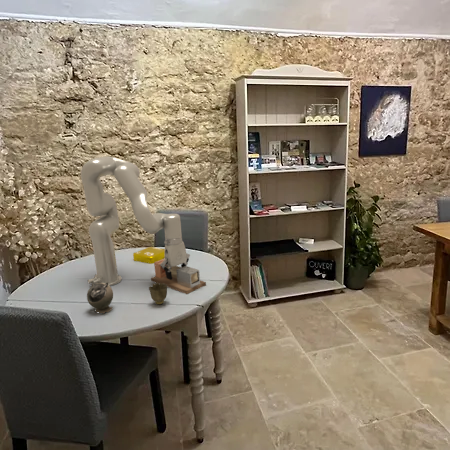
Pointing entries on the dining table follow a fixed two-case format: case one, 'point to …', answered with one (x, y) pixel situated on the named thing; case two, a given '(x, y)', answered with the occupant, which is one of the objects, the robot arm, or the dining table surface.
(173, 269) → the tube
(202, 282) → the walnut board
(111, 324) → the dining table surface
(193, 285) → the metal sleeve
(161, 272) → the terracotta socket
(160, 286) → the cup
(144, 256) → the element tile
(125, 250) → the dining table surface
